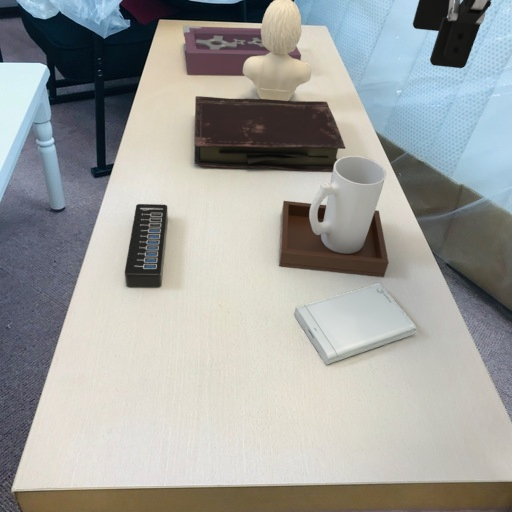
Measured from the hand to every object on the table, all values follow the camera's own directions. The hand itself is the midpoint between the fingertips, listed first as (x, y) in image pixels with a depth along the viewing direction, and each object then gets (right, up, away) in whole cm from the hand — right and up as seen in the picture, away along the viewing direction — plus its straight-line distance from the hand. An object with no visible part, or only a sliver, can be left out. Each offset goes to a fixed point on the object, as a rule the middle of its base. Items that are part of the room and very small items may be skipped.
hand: (436, 46), depth 50 cm
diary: (-16, -1, +43) cm, 46 cm away
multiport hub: (-33, -20, +20) cm, 43 cm away
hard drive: (-6, -29, +13) cm, 33 cm away
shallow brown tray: (-7, -19, +23) cm, 31 cm away
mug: (-7, -19, +23) cm, 30 cm away
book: (-22, +25, +70) cm, 77 cm away
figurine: (-14, +11, +56) cm, 59 cm away
